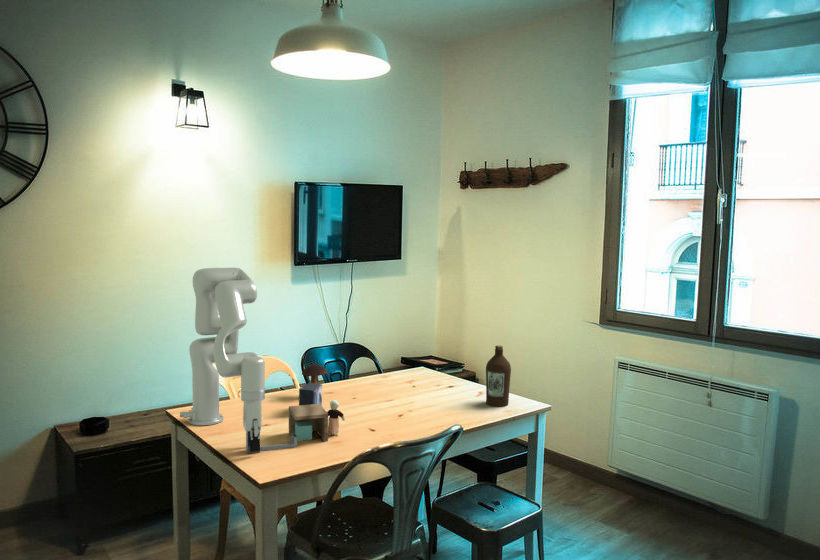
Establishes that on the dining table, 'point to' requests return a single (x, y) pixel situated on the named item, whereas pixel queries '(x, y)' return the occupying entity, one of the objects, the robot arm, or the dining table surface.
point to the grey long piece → (271, 447)
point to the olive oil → (498, 379)
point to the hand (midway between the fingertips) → (253, 446)
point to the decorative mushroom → (314, 372)
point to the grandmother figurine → (334, 418)
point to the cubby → (310, 418)
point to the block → (303, 430)
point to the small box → (310, 394)
